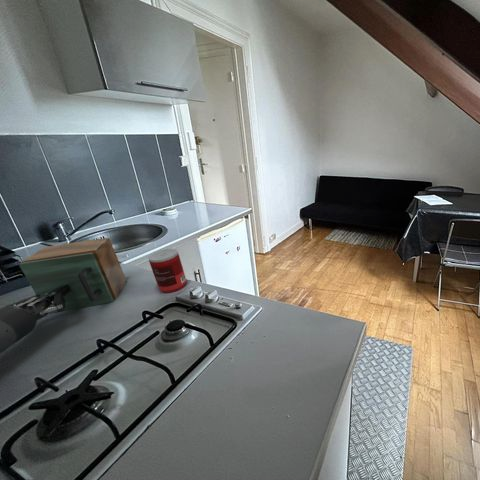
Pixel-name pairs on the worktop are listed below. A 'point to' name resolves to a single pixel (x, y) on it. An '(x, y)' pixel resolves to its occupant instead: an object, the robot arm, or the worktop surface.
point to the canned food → (167, 270)
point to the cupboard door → (69, 279)
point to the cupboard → (102, 255)
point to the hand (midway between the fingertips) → (66, 287)
